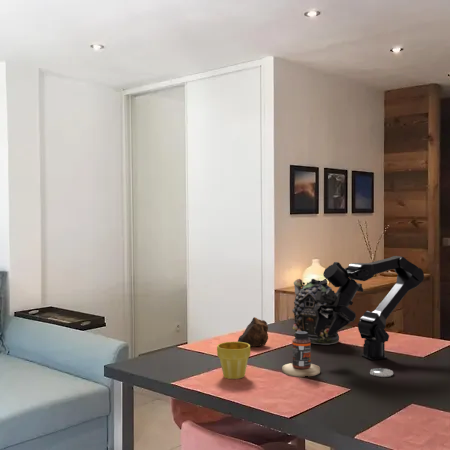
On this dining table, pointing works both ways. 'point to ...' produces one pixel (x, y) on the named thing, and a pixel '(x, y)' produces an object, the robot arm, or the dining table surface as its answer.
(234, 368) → the plant pot
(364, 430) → the dining table surface
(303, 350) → the supplement bottle
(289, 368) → the coaster
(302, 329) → the decorative house
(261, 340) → the decorative rock
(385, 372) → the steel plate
